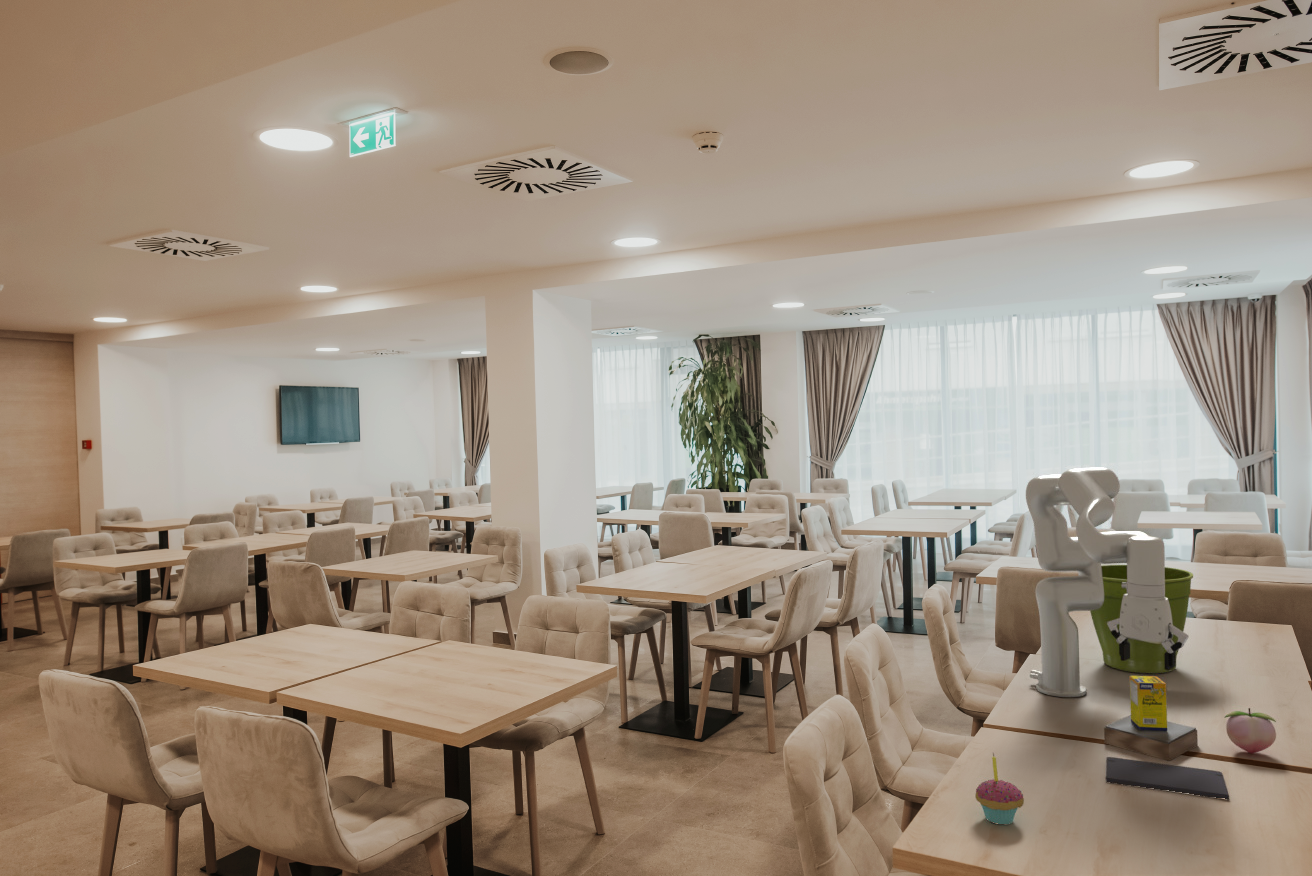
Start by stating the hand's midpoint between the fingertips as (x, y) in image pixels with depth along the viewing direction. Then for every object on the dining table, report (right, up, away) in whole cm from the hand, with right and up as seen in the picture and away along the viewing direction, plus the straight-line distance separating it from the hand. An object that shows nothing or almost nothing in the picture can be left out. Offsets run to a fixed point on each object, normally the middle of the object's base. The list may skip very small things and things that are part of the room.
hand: (1146, 664), depth 197 cm
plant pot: (+33, -17, +62) cm, 73 cm away
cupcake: (-48, -20, -36) cm, 63 cm away
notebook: (-8, -19, -20) cm, 29 cm away
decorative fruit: (+19, -18, -7) cm, 27 cm away
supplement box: (0, -15, 0) cm, 15 cm away
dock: (+1, -18, 0) cm, 18 cm away
